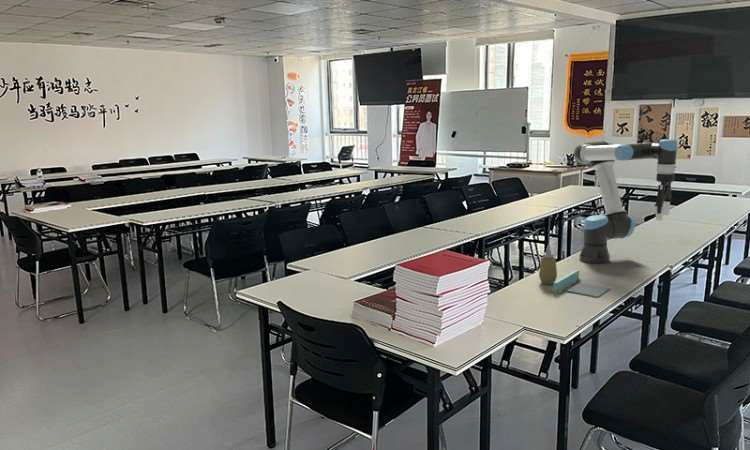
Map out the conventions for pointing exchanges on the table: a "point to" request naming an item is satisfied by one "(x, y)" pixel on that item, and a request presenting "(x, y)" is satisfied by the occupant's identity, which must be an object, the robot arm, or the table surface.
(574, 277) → the fence
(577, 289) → the mat
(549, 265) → the squeeze bottle
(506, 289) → the table surface
